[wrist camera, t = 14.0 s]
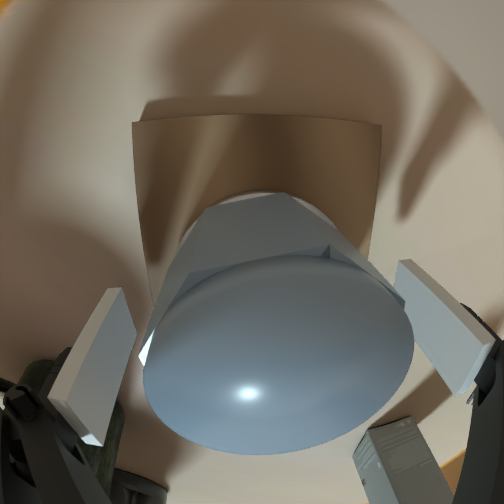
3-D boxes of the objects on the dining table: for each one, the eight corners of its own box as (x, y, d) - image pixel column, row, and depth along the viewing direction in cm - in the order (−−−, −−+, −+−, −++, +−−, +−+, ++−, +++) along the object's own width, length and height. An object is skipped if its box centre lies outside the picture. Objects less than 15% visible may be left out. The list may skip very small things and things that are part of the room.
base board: (173, 368, 19) (171, 378, 18) (138, 122, 12) (131, 122, 11) (337, 358, 20) (341, 367, 19) (372, 124, 13) (381, 125, 12)
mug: (112, 438, 23) (95, 530, 12) (-1, 370, 19) (-44, 451, 8) (148, 399, 20) (128, 530, 9) (1, 306, 16) (-74, 410, 5)
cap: (277, 363, 17) (298, 464, 10) (148, 303, 14) (111, 413, 8) (372, 257, 14) (451, 343, 8) (237, 160, 12) (249, 198, 5)
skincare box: (365, 428, 25) (408, 543, 11) (417, 411, 26) (466, 511, 11) (349, 457, 29) (378, 552, 14) (395, 443, 29) (430, 529, 15)
